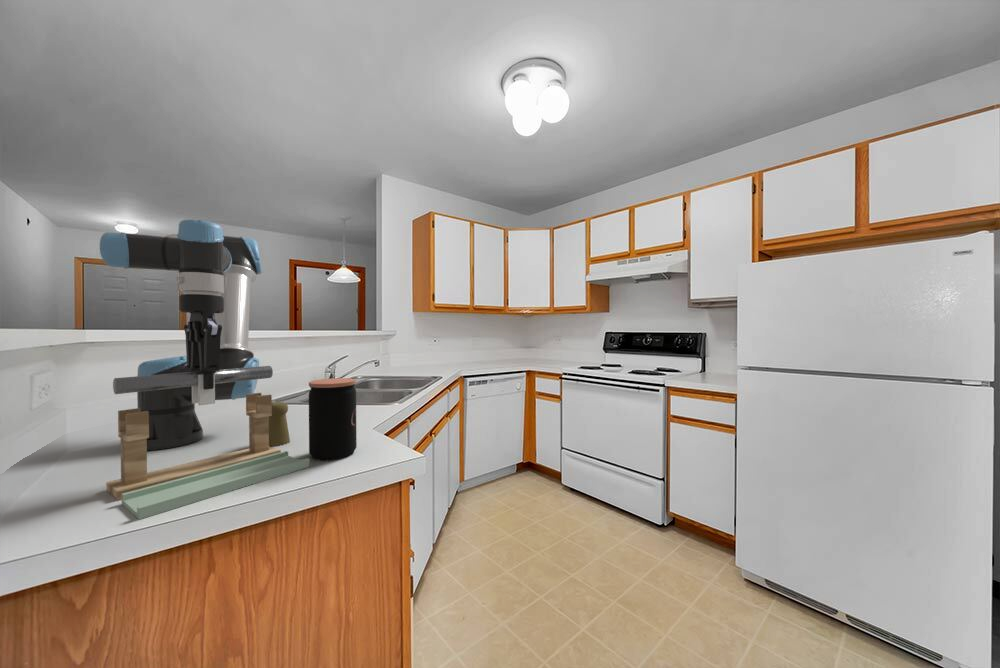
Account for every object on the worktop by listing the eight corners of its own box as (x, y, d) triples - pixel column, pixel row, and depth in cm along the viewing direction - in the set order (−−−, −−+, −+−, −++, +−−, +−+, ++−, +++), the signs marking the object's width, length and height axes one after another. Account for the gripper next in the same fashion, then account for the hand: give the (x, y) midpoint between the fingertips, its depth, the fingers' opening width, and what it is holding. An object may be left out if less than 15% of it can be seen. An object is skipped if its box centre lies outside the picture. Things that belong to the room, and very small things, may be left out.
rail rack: (106, 490, 71) (105, 411, 71) (264, 450, 95) (264, 391, 95) (117, 500, 67) (116, 416, 67) (280, 456, 90) (280, 394, 90)
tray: (121, 504, 66) (121, 493, 66) (286, 458, 89) (286, 450, 89) (139, 519, 60) (138, 508, 60) (309, 466, 83) (309, 458, 83)
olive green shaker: (278, 447, 98) (277, 405, 97) (258, 445, 99) (258, 404, 99) (295, 440, 104) (294, 400, 103) (276, 439, 105) (276, 400, 105)
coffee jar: (361, 455, 91) (360, 381, 90) (312, 464, 85) (311, 385, 84) (351, 444, 99) (350, 377, 99) (306, 452, 93) (305, 380, 93)
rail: (117, 395, 69) (117, 378, 69) (113, 393, 71) (112, 377, 70) (272, 378, 91) (272, 366, 91) (266, 377, 93) (266, 365, 93)
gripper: (166, 294, 82) (168, 402, 82) (194, 291, 73) (196, 411, 73) (207, 297, 88) (209, 396, 89) (238, 294, 79) (239, 404, 80)
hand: (203, 403), depth 81 cm, fingers closed on rail, 3 cm apart
